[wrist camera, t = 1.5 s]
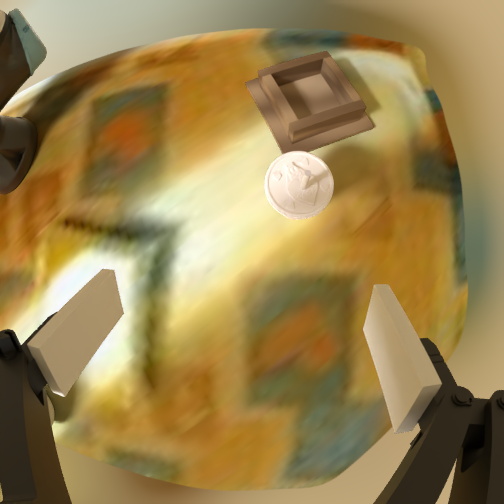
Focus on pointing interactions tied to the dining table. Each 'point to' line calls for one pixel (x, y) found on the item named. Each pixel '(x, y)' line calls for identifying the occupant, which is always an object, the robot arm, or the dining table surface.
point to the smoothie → (299, 185)
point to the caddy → (308, 103)
